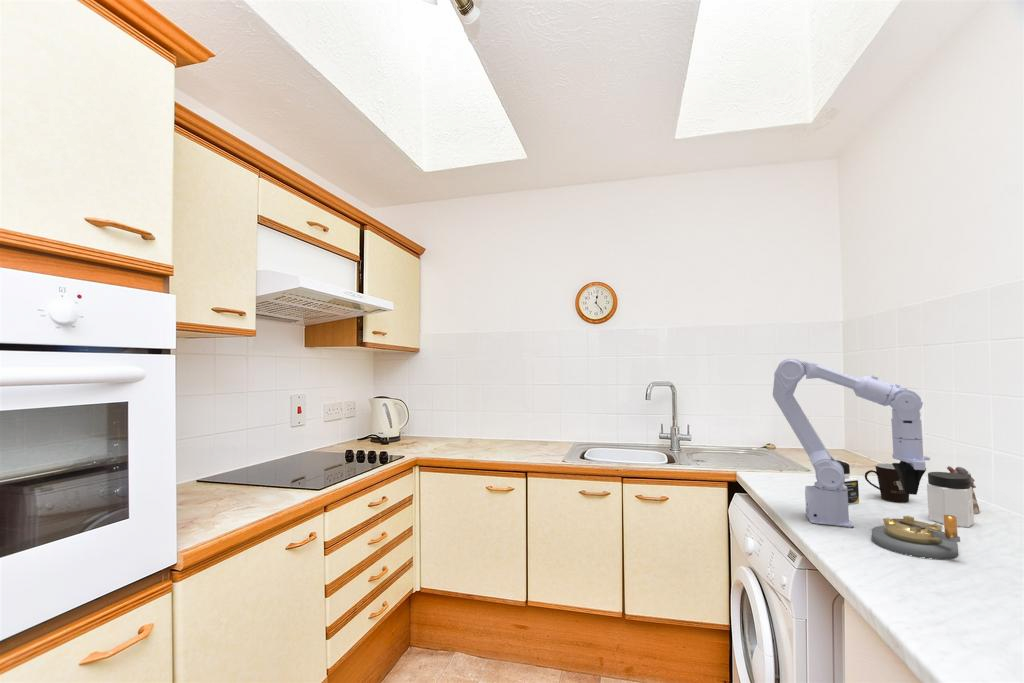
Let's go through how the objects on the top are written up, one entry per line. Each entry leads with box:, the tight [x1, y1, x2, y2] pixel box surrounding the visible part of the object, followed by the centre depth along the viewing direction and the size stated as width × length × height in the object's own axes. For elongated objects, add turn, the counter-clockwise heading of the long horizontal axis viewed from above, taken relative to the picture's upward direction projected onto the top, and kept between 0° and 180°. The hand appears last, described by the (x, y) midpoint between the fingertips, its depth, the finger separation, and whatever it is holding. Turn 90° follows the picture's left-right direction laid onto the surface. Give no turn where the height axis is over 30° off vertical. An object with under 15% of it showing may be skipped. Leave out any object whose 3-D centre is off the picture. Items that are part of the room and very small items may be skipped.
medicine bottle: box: [835, 459, 860, 505], centre depth 142 cm, size 7×7×12 cm
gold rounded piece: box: [882, 515, 961, 545], centre depth 106 cm, size 14×10×7 cm
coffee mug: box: [864, 463, 910, 504], centre depth 143 cm, size 12×9×10 cm
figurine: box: [946, 465, 981, 515], centre depth 132 cm, size 7×7×12 cm
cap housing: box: [870, 525, 959, 560], centre depth 107 cm, size 15×15×2 cm
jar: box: [926, 471, 975, 528], centre depth 123 cm, size 9×8×12 cm
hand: (910, 493), depth 116 cm, fingers closed
